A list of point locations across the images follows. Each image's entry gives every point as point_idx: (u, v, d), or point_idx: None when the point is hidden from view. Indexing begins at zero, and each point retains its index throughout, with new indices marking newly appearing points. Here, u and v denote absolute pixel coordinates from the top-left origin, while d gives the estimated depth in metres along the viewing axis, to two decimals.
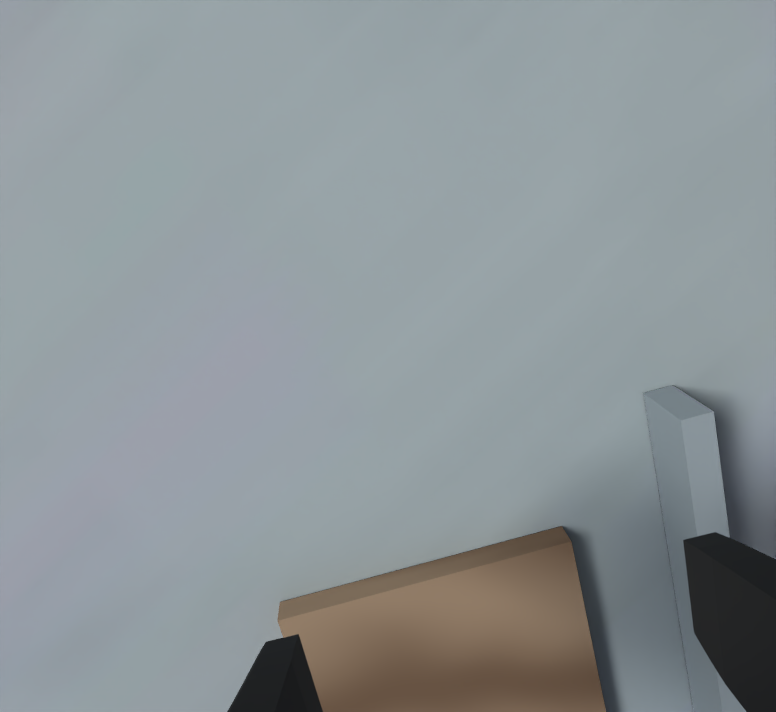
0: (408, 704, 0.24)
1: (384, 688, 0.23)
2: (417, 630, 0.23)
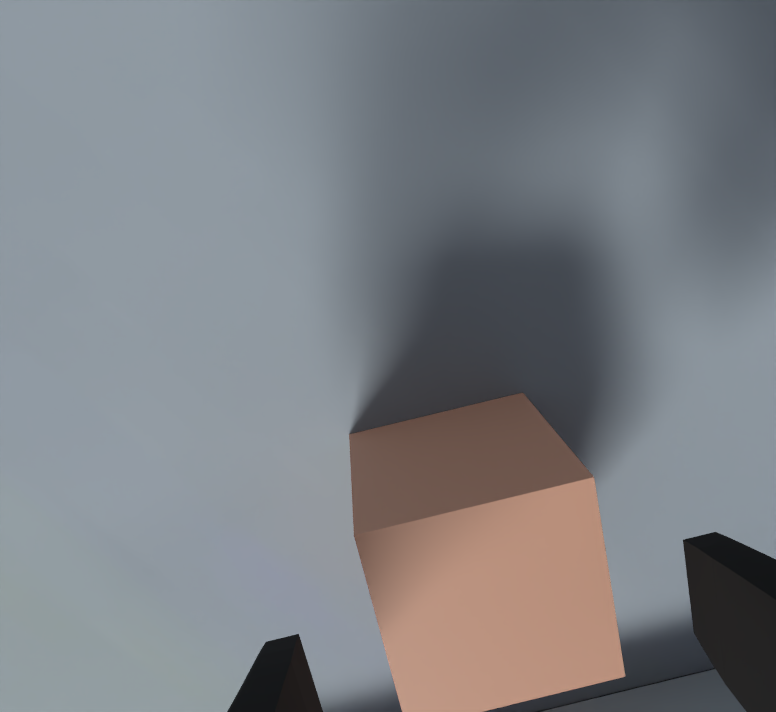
0: None
1: None
2: None
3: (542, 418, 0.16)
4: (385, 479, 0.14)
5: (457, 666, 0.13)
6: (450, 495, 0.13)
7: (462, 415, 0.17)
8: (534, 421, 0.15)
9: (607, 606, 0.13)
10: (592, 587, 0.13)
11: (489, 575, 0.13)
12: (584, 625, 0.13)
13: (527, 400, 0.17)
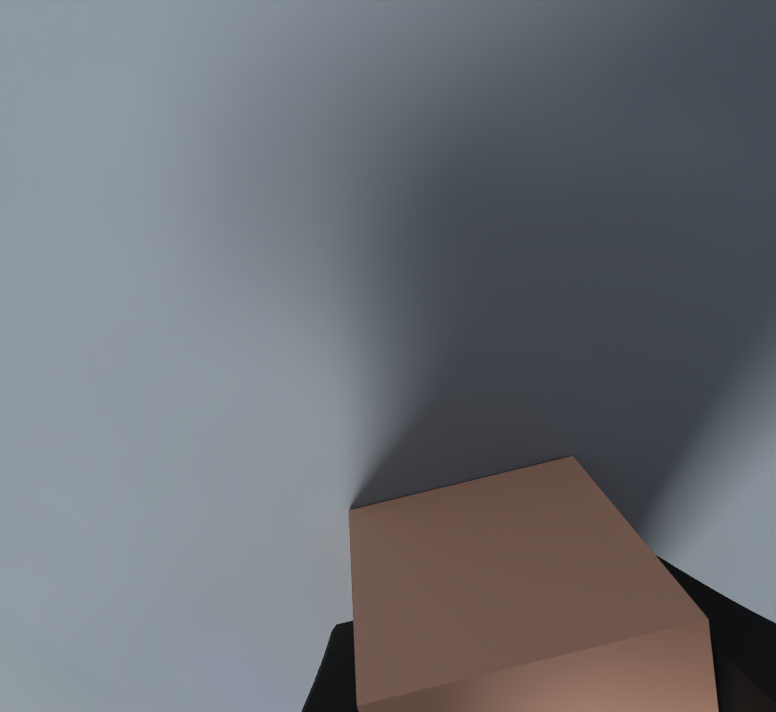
0: None
1: None
2: None
3: (608, 501, 0.12)
4: (399, 596, 0.10)
5: None
6: (496, 637, 0.09)
7: (497, 490, 0.13)
8: (598, 507, 0.11)
9: None
10: None
11: None
12: None
13: (582, 470, 0.13)
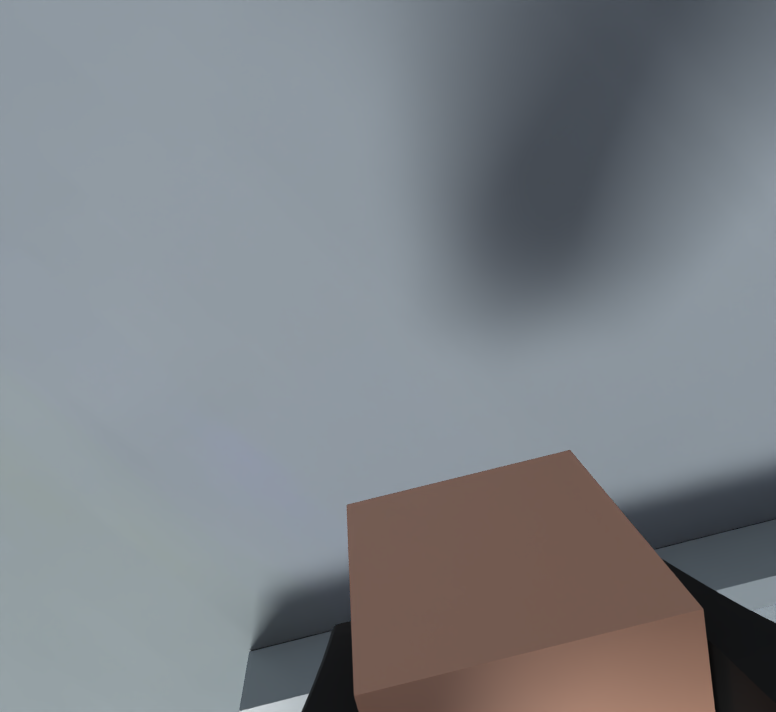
0: None
1: None
2: None
3: (605, 494, 0.12)
4: (396, 589, 0.10)
5: None
6: (492, 628, 0.09)
7: (494, 484, 0.13)
8: (595, 500, 0.11)
9: None
10: None
11: None
12: None
13: (579, 464, 0.13)
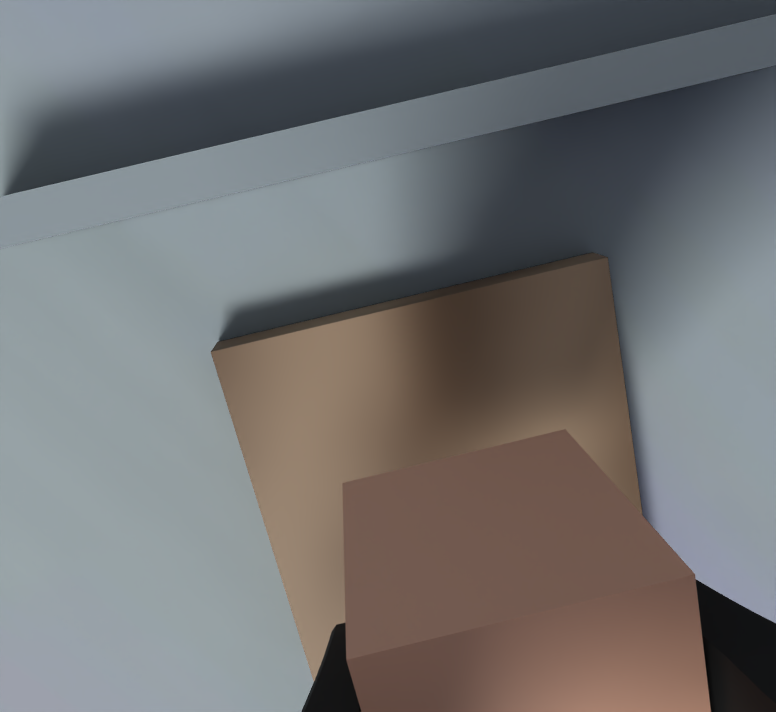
0: None
1: None
2: (337, 535, 0.18)
3: (598, 469, 0.12)
4: (390, 560, 0.10)
5: None
6: (484, 595, 0.09)
7: (490, 462, 0.13)
8: (589, 475, 0.11)
9: None
10: None
11: (541, 711, 0.09)
12: None
13: (574, 442, 0.13)
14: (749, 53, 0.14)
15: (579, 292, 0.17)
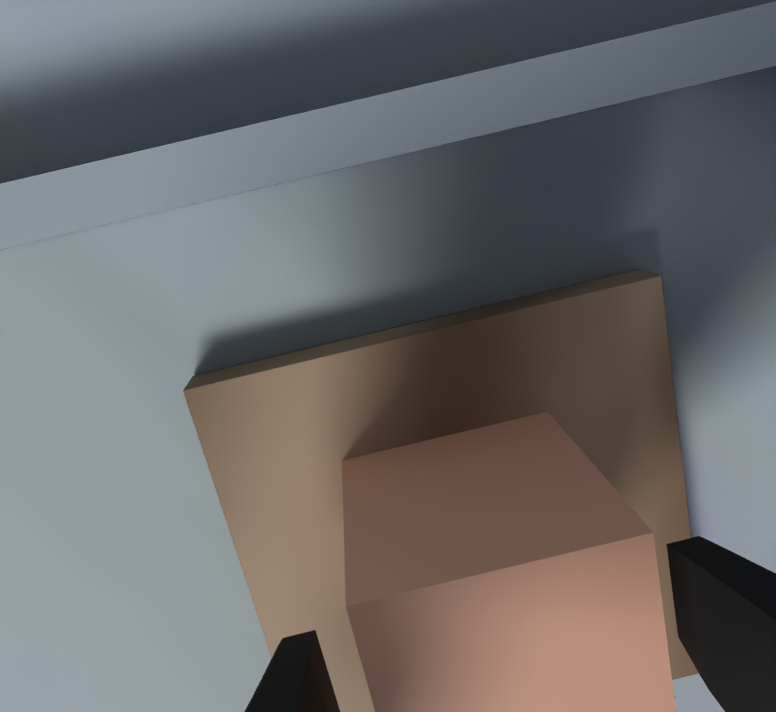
0: None
1: None
2: (336, 603, 0.15)
3: (576, 446, 0.13)
4: (386, 525, 0.11)
5: None
6: (469, 552, 0.10)
7: (477, 441, 0.14)
8: (566, 451, 0.13)
9: (664, 691, 0.10)
10: (646, 668, 0.10)
11: (517, 654, 0.10)
12: None
13: (555, 423, 0.14)
14: None
15: (626, 318, 0.14)
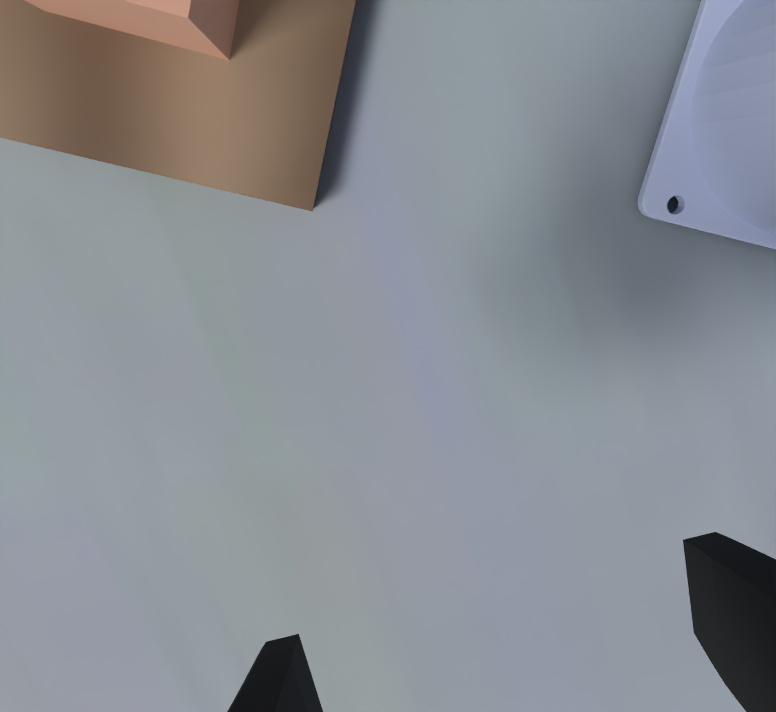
0: None
1: (82, 43, 0.17)
2: None
3: None
4: None
5: None
6: None
7: None
8: None
9: None
10: None
11: None
12: None
13: None
14: None
15: None
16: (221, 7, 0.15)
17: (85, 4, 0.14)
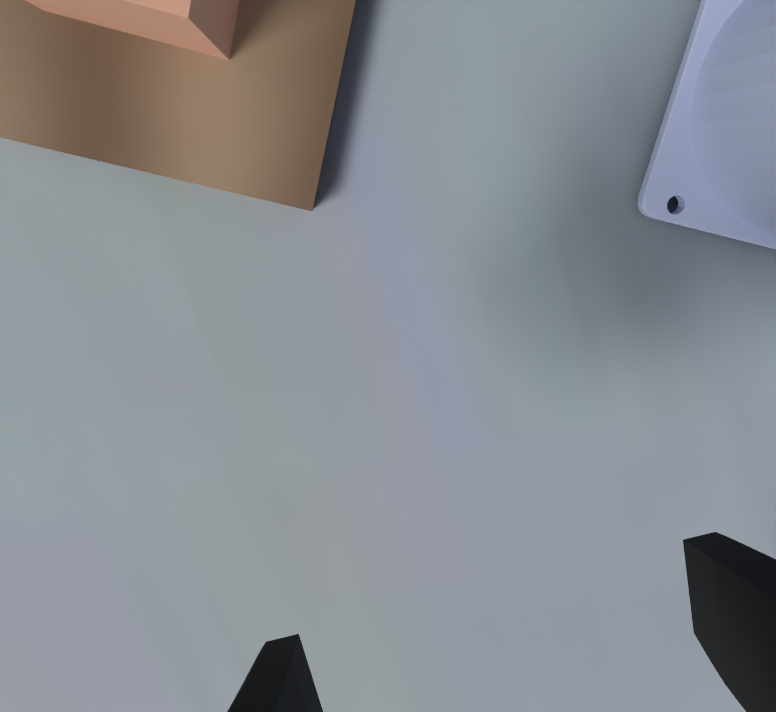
0: None
1: (82, 43, 0.17)
2: None
3: None
4: None
5: None
6: None
7: None
8: None
9: None
10: None
11: None
12: None
13: None
14: None
15: None
16: (221, 7, 0.15)
17: (85, 4, 0.14)
